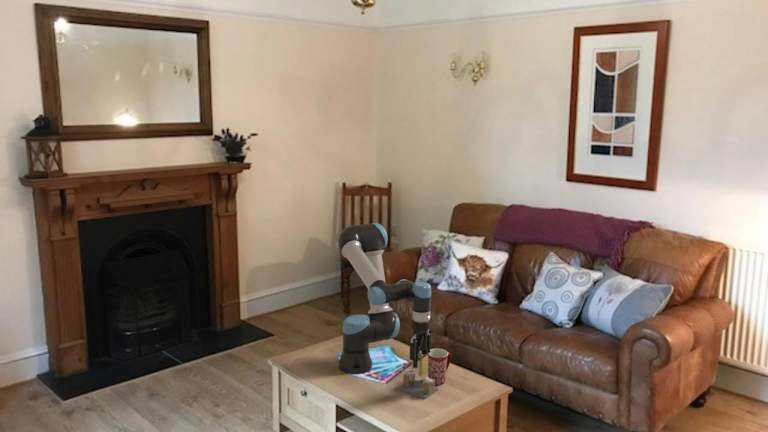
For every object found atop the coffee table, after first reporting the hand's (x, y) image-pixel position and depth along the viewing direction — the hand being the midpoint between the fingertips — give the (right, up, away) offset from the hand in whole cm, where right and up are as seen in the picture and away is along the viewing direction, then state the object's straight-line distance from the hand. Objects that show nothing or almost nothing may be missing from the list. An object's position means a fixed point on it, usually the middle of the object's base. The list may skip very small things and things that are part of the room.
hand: (419, 372), depth 267 cm
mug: (+9, -6, +11) cm, 16 cm away
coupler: (0, 0, 0) cm, 0 cm away
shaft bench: (0, -8, +2) cm, 8 cm away
